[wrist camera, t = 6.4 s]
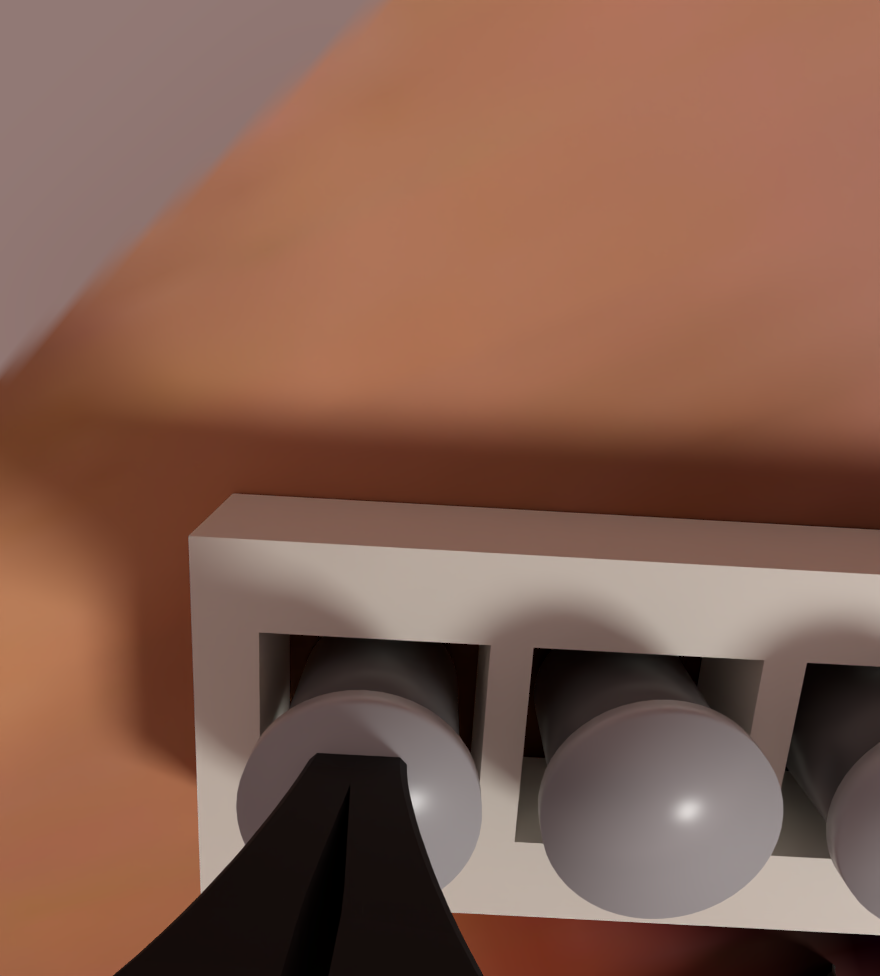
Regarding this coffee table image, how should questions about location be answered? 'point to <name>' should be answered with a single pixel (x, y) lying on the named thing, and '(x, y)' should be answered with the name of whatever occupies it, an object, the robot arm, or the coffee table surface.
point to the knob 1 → (376, 738)
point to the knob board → (509, 652)
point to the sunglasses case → (832, 973)
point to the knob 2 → (843, 768)
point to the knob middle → (648, 786)
